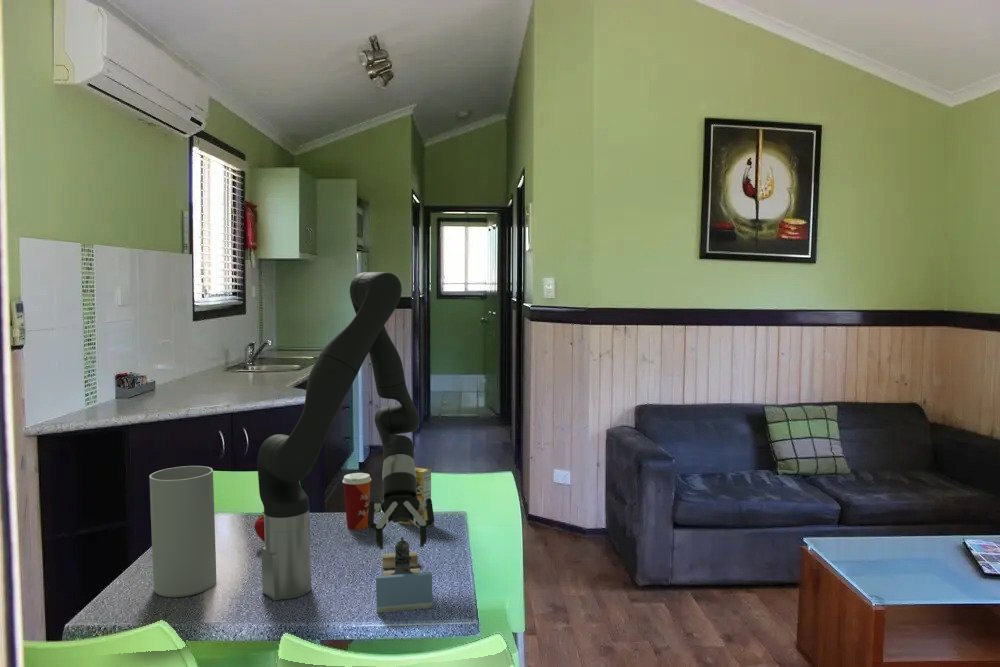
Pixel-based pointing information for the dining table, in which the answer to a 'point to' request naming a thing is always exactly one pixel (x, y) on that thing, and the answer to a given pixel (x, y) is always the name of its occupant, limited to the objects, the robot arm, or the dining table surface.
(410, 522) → the candy box
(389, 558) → the oak gap blocks
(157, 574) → the cylinder vase
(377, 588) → the bezel holder
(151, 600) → the dining table surface
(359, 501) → the paper cup
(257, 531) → the strawberry
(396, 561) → the dark statuette
